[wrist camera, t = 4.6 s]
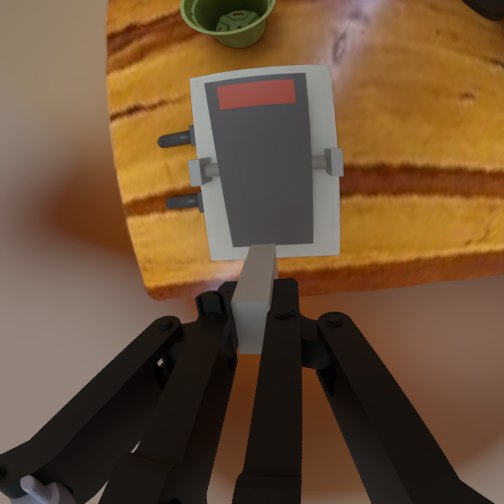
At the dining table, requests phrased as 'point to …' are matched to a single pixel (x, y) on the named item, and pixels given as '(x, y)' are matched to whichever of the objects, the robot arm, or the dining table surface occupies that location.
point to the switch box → (323, 179)
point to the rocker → (264, 157)
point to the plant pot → (228, 19)
